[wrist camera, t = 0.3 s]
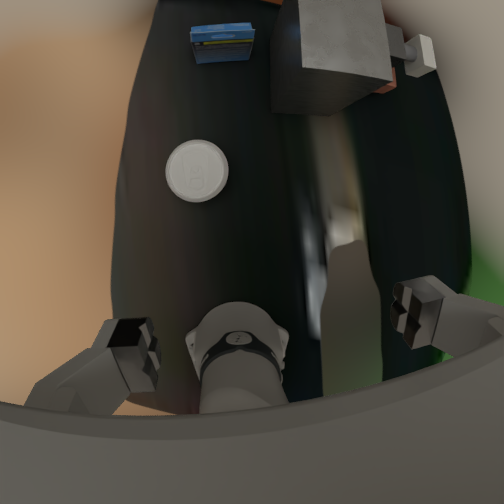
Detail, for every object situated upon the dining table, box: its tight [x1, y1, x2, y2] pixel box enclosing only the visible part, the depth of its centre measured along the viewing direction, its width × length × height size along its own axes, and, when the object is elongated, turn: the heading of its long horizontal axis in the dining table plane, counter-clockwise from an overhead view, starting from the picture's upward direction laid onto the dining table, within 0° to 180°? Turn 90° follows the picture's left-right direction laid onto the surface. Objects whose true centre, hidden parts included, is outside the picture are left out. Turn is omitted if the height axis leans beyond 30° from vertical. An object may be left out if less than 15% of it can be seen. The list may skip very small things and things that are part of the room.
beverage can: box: [166, 140, 228, 202], centre depth 42 cm, size 8×8×12 cm
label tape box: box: [190, 23, 255, 64], centre depth 38 cm, size 9×4×12 cm, turn 94°
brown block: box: [374, 67, 396, 94], centre depth 41 cm, size 5×6×5 cm
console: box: [270, 0, 407, 116], centre depth 35 cm, size 14×14×22 cm
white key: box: [404, 34, 436, 77], centre depth 30 cm, size 5×6×5 cm
